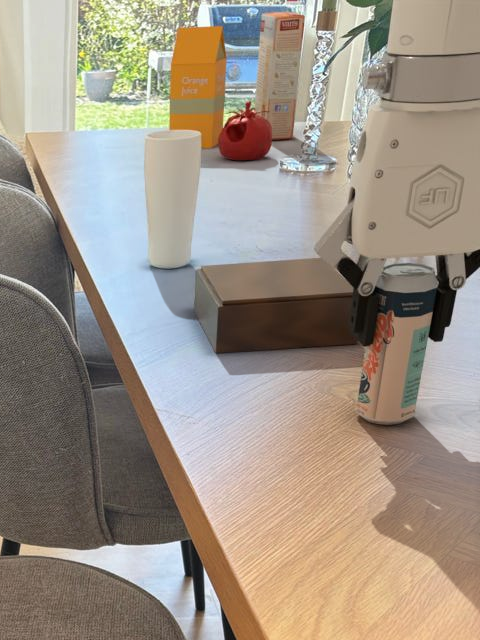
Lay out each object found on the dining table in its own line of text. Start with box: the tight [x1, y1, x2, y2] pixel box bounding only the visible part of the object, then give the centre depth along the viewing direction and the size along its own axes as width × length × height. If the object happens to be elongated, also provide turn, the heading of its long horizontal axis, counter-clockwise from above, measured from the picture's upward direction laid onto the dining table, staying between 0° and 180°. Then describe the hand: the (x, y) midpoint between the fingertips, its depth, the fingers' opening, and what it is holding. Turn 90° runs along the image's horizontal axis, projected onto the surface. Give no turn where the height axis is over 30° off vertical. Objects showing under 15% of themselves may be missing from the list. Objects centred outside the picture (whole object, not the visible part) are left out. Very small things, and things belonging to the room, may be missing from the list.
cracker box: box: [253, 11, 306, 141], centre depth 194 cm, size 14×6×21 cm, turn 178°
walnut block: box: [193, 257, 359, 354], centre depth 103 cm, size 14×14×5 cm
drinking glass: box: [143, 129, 202, 270], centre depth 122 cm, size 7×7×15 cm
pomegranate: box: [217, 100, 273, 161], centre depth 179 cm, size 10×10×9 cm
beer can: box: [354, 262, 439, 426], centre depth 80 cm, size 5×5×12 cm
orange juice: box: [168, 25, 228, 149], centre depth 191 cm, size 8×9×20 cm
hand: (397, 336), depth 79 cm, fingers closed on beer can, 4 cm apart
